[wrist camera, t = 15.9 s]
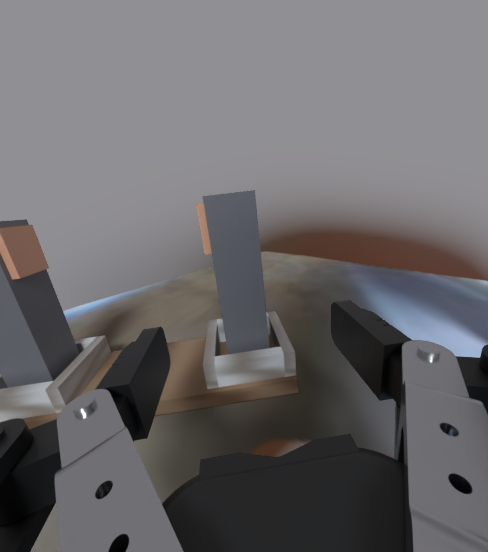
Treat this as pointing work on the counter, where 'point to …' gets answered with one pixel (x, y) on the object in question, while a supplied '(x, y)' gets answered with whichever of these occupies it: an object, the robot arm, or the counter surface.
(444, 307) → the counter surface
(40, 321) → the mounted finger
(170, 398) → the wooden base with sockets
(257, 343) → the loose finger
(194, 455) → the counter surface
